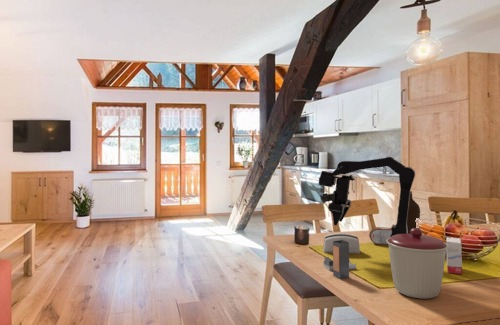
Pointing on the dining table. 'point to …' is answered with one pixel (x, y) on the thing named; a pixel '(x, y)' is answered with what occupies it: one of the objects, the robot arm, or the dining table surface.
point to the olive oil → (412, 213)
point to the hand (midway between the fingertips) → (337, 223)
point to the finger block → (341, 259)
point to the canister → (417, 263)
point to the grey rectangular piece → (329, 264)
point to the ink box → (454, 256)
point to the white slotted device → (349, 238)
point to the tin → (380, 235)
